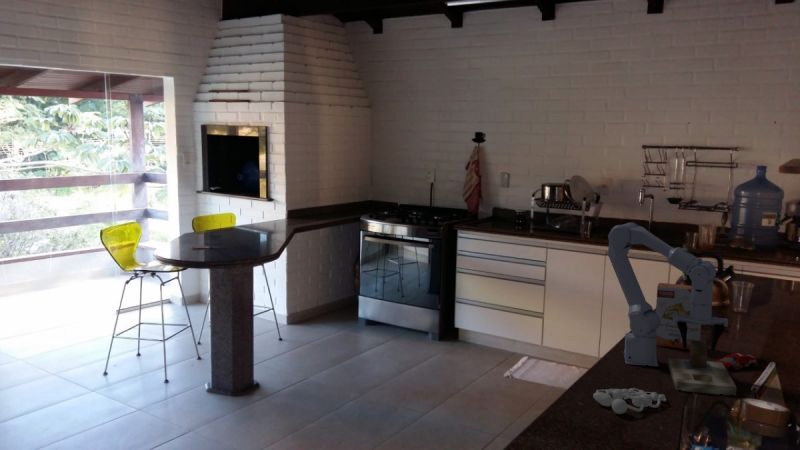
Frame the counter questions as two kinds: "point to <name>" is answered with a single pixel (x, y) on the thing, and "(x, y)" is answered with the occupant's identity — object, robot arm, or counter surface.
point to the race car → (738, 361)
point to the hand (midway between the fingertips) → (698, 348)
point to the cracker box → (674, 303)
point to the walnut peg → (698, 354)
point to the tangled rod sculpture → (620, 405)
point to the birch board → (701, 377)
